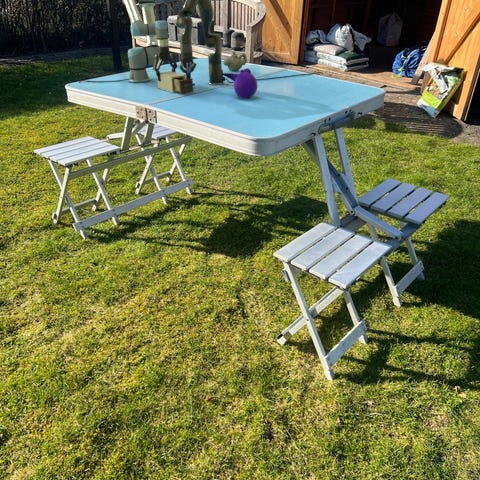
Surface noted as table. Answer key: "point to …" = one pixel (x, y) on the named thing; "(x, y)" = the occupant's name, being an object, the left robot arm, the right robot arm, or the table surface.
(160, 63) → the left robot arm
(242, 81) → the toy
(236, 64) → the teapot
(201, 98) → the table surface
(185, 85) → the drawer
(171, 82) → the tan cardboard carton
